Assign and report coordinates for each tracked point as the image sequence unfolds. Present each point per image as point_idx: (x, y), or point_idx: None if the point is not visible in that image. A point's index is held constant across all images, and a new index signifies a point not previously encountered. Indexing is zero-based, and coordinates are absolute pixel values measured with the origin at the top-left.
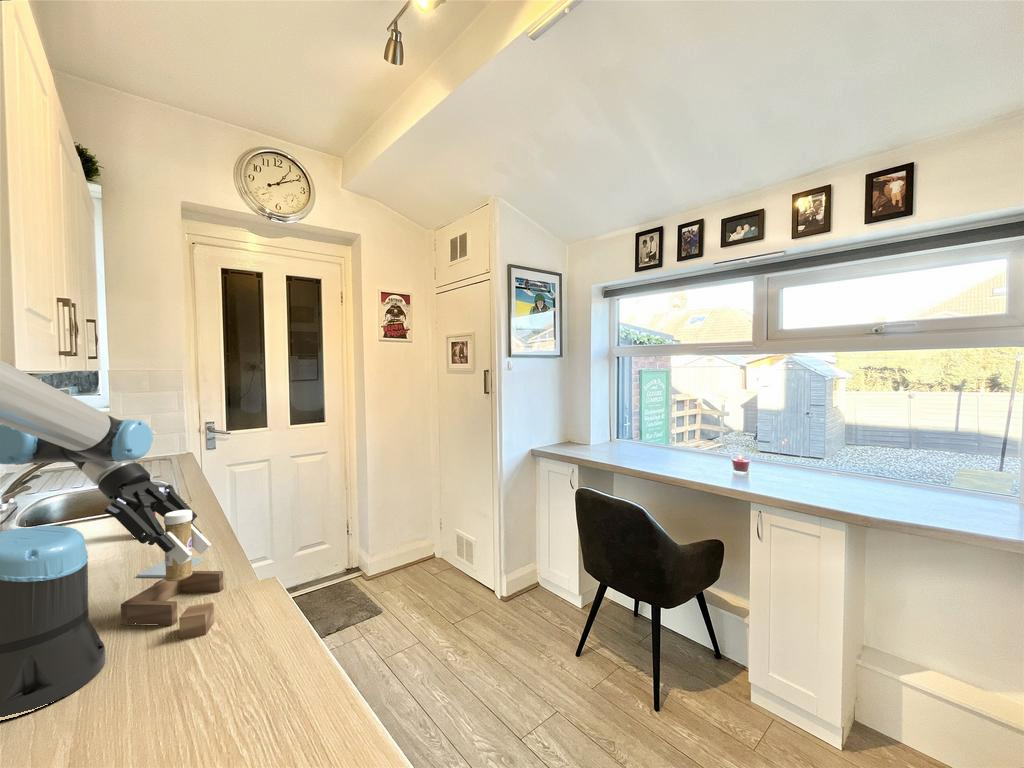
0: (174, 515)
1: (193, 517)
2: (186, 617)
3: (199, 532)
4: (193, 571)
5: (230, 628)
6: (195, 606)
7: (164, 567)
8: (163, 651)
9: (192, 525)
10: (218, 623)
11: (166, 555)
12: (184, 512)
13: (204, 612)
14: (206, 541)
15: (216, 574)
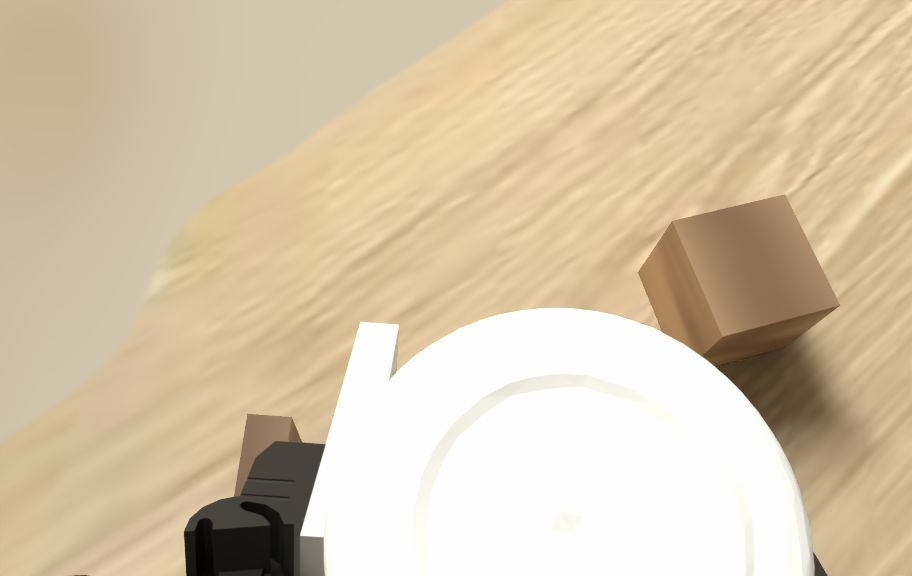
0: (773, 455)
1: (215, 522)
2: (821, 275)
3: (338, 416)
4: None
5: (680, 169)
6: (722, 294)
7: None
8: (876, 357)
9: (320, 497)
10: (645, 246)
11: None
12: (601, 368)
13: (772, 207)
14: (375, 348)
15: (289, 440)
